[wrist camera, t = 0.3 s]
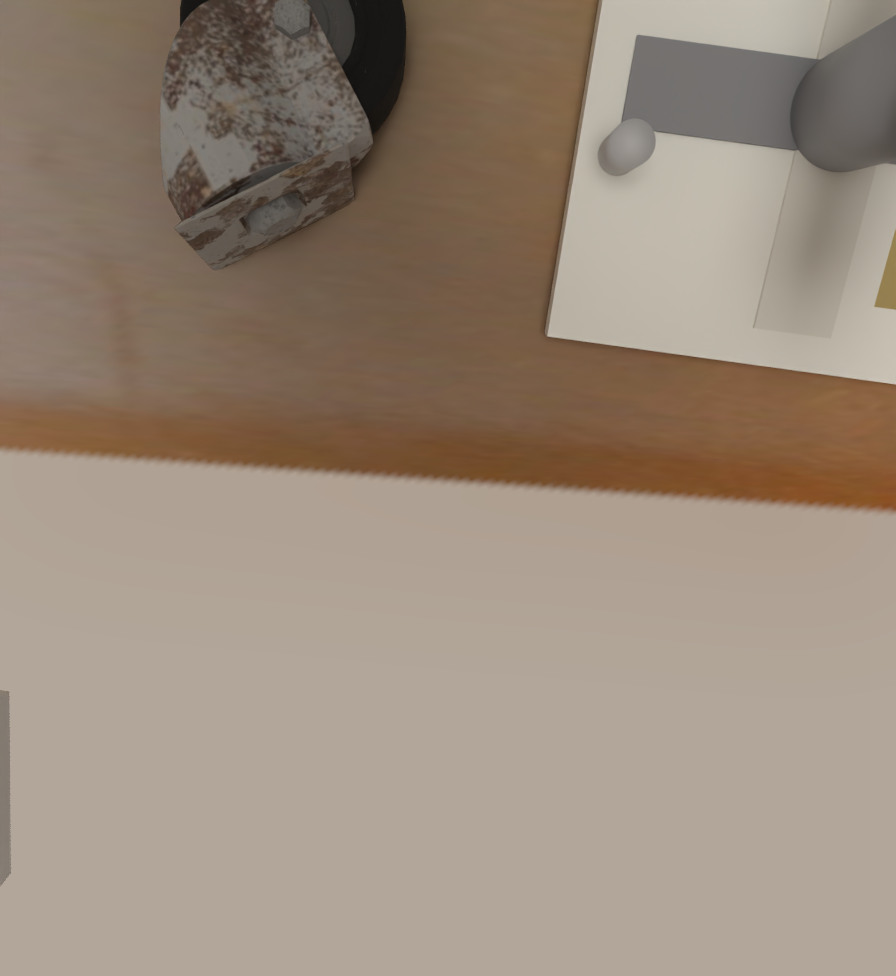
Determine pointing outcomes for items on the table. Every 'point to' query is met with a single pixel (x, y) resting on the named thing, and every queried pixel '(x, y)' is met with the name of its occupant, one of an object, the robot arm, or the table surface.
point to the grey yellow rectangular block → (888, 281)
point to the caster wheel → (272, 114)
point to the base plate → (735, 184)
